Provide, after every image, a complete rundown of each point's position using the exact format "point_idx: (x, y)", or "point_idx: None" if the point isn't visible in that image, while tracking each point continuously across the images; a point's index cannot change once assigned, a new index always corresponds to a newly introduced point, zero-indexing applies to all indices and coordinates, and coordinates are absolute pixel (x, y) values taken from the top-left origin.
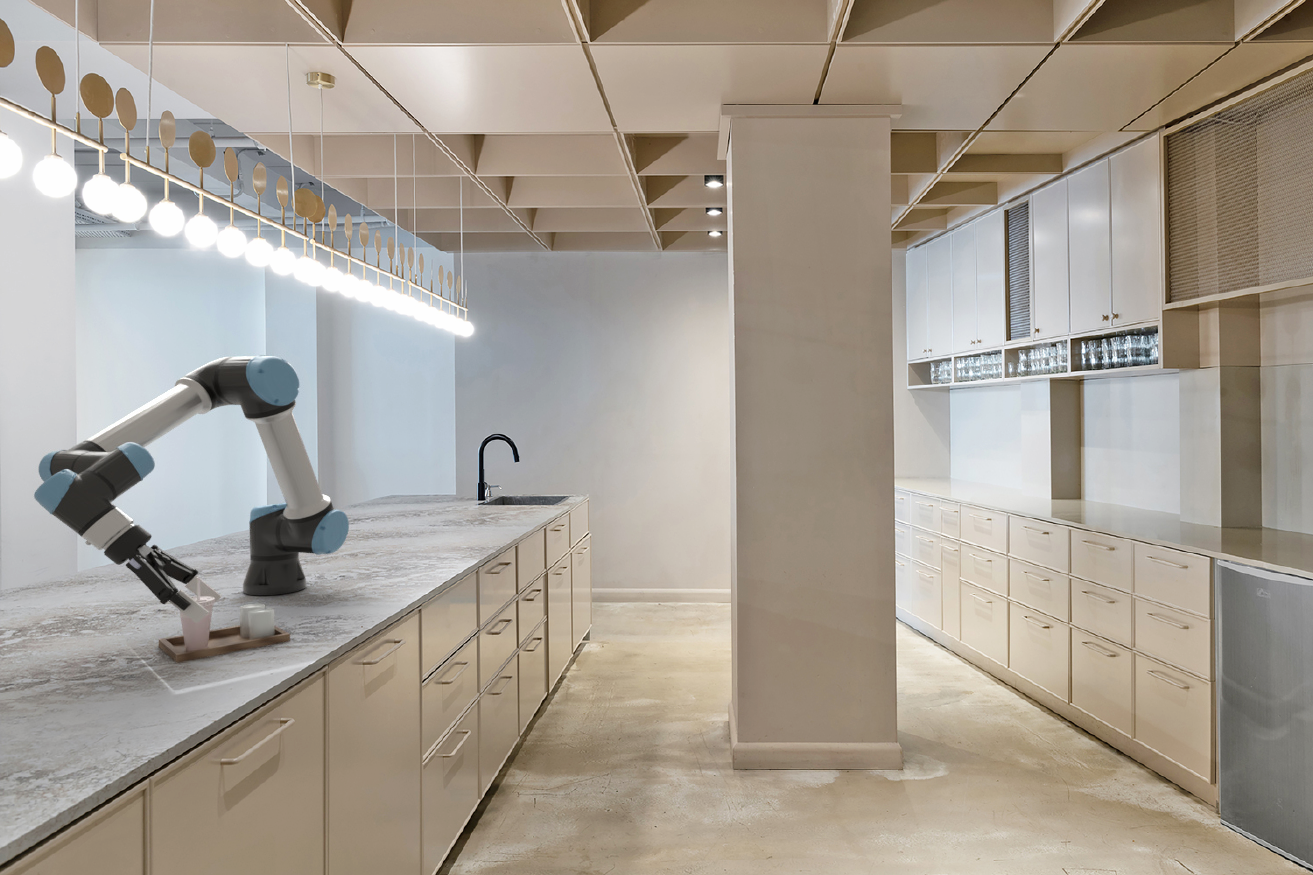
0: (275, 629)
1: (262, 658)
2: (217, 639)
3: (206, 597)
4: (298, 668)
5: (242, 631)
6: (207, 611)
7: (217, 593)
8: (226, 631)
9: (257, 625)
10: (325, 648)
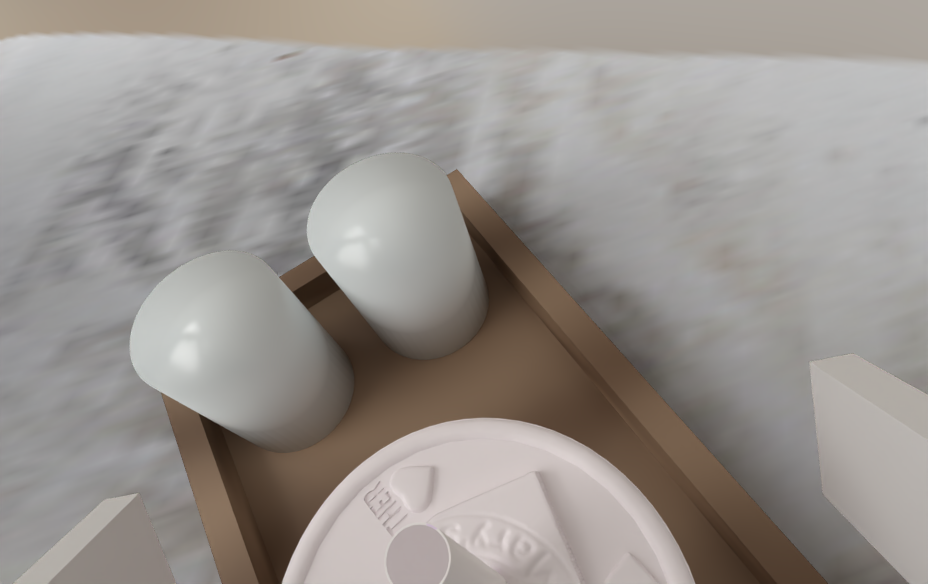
0: None
1: (696, 228)
2: None
3: (346, 547)
4: (842, 61)
5: (324, 414)
6: (853, 361)
7: (92, 528)
8: (250, 533)
9: (469, 252)
10: (563, 68)
